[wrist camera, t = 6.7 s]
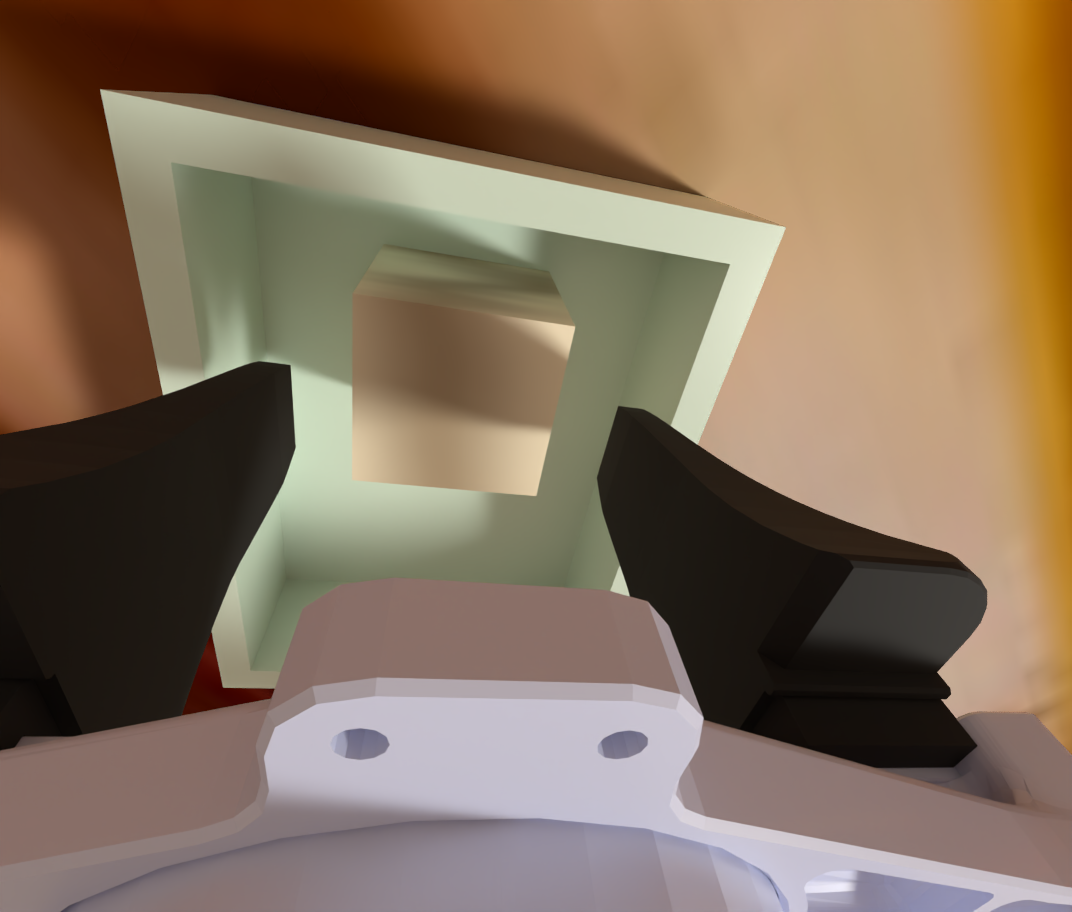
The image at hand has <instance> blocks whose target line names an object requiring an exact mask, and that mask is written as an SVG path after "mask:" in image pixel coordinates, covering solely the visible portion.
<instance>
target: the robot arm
mask: <svg viewBox="0 0 1072 912" xmlns="http://www.w3.org/2000/svg"><path fill="white" fill-rule="evenodd" d="M295 449H296V444H295V428H294V411H293V395H292V379H291V365H287V364H279V363H271V362H263V361H257V362H253V363H249V364H246V365H243V366H240V367H237V368H235V369H232V370H229V371H227V372H224V373H222V374H219V375H217V376H214V377H211V378H209V379H206V380H204V381H201V382H199V383H196V384H193V385H191V386H188V387H186V388H183V389H180V390H177V391H174V392H171V393H168V394H165V395H162V396H160V397H157V398H154V399H151V400H148V401H145V402H142V403H139V404H136V405H133V406H129V407H126V408H123V409H119V410H116V411H112V412H108V413H104V414H100V415H96V416H92V417H88V418H84V419H80V420H76V421H72V422H67V423H62V424H57V425H51V426H46V427H40V428H35V429H30V430H24V431H19V432H13V433H8V434H2V435H0V912H1072V755H1071V754H1070V753H1069V752H1068V751H1067V750H1066V748H1065V747H1064V746H1063V745H1062V744H1061V743H1060V742H1059V741H1058V740H1057V739H1056V738H1055V737H1054V736H1053V734H1052V733H1051V732H1050V731H1049V730H1048V729H1047V728H1046V727H1045V726H1044V725H1043V724H1042V723H1041V722H1040V720H1039V719H1038V718H1037V717H1036V716H1035V715H1034V714H1030V713H1026V712H972V713H968V714H965V715H963V716H960V717H958V718H957V719H956V718H955V717H954V715H953V714H952V713H951V711H950V710H949V709H948V708H947V706H946V705H945V704H944V703H943V701H942V700H941V699H947V698H948V697H949V696H950V695H951V690H950V687H949V686H948V685H947V684H946V683H945V681H944V680H943V679H942V678H941V677H940V675H939V674H938V673H937V672H938V671H939V670H940V668H941V667H942V666H943V665H944V664H945V663H946V662H947V661H948V660H949V659H950V658H951V657H952V655H953V654H954V653H955V652H956V651H957V650H958V649H959V648H960V647H961V646H962V645H963V644H964V642H965V641H966V640H967V639H968V638H969V637H970V636H971V635H972V633H973V632H974V631H975V629H976V628H977V627H978V625H979V624H980V623H981V620H982V618H983V615H984V613H985V610H986V607H987V590H986V588H985V586H984V585H983V583H982V581H981V580H980V579H979V578H978V577H977V576H976V575H975V574H974V573H973V572H972V571H971V570H970V569H968V568H967V567H966V566H965V565H964V564H963V563H962V562H961V561H960V560H959V559H958V558H956V557H955V556H953V555H951V554H949V553H947V552H944V551H940V550H937V549H933V548H930V547H926V546H922V545H919V544H915V543H912V542H908V541H905V540H901V539H897V538H894V537H890V536H887V535H884V534H881V533H878V532H875V531H872V530H869V529H866V528H863V527H860V526H857V525H854V524H851V523H848V522H846V521H843V520H840V519H838V518H835V517H833V516H830V515H827V514H825V513H822V512H820V511H818V510H815V509H813V508H811V507H808V506H806V505H804V504H801V503H799V502H797V501H794V500H792V499H790V498H788V497H786V496H784V495H782V494H780V493H778V492H776V491H774V490H772V489H770V488H768V487H766V486H764V485H762V484H760V483H758V482H757V481H755V480H753V479H751V478H749V477H747V476H746V475H744V474H742V473H740V472H739V471H737V470H736V469H734V468H732V467H731V466H729V465H728V464H726V463H724V462H723V461H721V460H720V459H718V458H716V457H715V456H713V455H712V454H710V453H709V452H707V451H706V450H704V449H703V448H702V447H700V446H699V445H697V444H696V443H694V442H693V441H691V440H690V439H689V438H687V437H686V436H684V435H683V434H682V433H680V432H679V431H677V430H676V429H674V428H673V427H672V426H670V425H669V424H667V423H666V422H664V421H663V420H661V419H660V418H658V417H657V416H655V415H654V414H652V413H650V412H648V411H646V410H644V409H639V408H631V407H623V406H618V408H617V411H616V415H615V418H614V421H613V425H612V428H611V432H610V435H609V438H608V442H607V445H606V448H605V452H604V455H603V458H602V462H601V465H600V468H599V472H598V475H597V483H598V489H599V496H600V502H601V507H602V512H603V516H604V519H605V522H606V525H607V528H608V531H609V534H610V537H611V540H612V543H613V546H614V549H615V552H616V555H617V558H618V561H619V564H620V567H621V570H622V573H623V576H624V579H625V582H626V585H627V588H628V592H629V595H630V596H626V595H623V594H619V593H615V592H612V591H608V590H599V589H582V588H565V587H548V586H531V585H514V584H497V583H480V582H462V581H445V580H428V579H411V578H387V579H379V580H371V581H364V582H356V583H348V584H341V585H339V586H338V587H336V588H334V589H333V590H331V591H330V592H328V593H326V594H325V595H323V596H322V597H320V598H318V599H317V600H315V601H314V602H312V603H310V604H309V605H307V606H306V607H304V608H303V609H302V612H301V615H300V618H299V621H298V623H297V626H296V629H295V632H294V635H293V637H292V640H291V643H290V646H289V649H288V652H287V655H286V658H285V661H284V664H283V666H282V669H281V672H280V675H279V678H278V681H277V684H276V687H275V690H274V693H273V696H272V699H267V700H262V701H257V702H252V703H246V704H241V705H236V706H231V707H225V708H220V709H215V710H210V711H204V712H199V713H194V714H189V715H184V716H181V715H182V712H183V709H184V706H185V703H186V700H187V697H188V694H189V691H190V688H191V686H192V683H193V680H194V677H195V674H196V671H197V668H198V665H199V663H200V660H201V657H202V655H203V652H204V649H205V647H206V644H207V641H208V639H209V636H210V633H211V630H212V628H213V625H214V622H215V620H216V617H217V615H218V612H219V610H220V607H221V605H222V602H223V600H224V598H225V595H226V593H227V590H228V588H229V585H230V583H231V580H232V578H233V576H234V574H235V572H236V570H237V568H238V566H239V564H240V562H241V560H242V558H243V557H244V555H245V553H246V551H247V549H248V548H249V546H250V544H251V542H252V540H253V539H254V537H255V535H256V533H257V531H258V529H259V528H260V526H261V524H262V522H263V520H264V519H265V517H266V515H267V513H268V511H269V510H270V508H271V506H272V504H273V502H274V500H275V498H276V497H277V495H278V493H279V491H280V489H281V487H282V485H283V483H284V480H285V478H286V475H287V472H288V469H289V467H290V464H291V461H292V458H293V455H294V452H295Z"/></svg>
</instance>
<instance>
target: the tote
mask: <svg viewBox="0 0 1072 912" xmlns="http://www.w3.org/2000/svg"><path fill="white" fill-rule="evenodd" d="M100 91H101V96H102V101H103V106H104V111H105V116H106V120H107V125H108V130H109V135H110V140H111V145H112V150H113V154H114V159H115V164H116V169H117V174H118V179H119V184H120V188H121V193H122V198H123V203H124V208H125V213H126V218H127V222H128V227H129V232H130V237H131V242H132V247H133V252H134V256H135V261H136V266H137V271H138V276H139V281H140V286H141V290H142V295H143V300H144V305H145V310H146V315H147V320H148V324H149V329H150V334H151V339H152V344H153V349H154V354H155V358H156V363H157V368H158V373H159V378H160V383H161V388H162V392H163V395H165V394H168V393H171V392H174V391H177V390H180V389H183V388H186V387H188V386H191V385H193V384H196V383H199V382H201V381H204V380H206V379H209V378H211V377H214V376H217V375H219V374H222V373H224V372H227V371H229V370H232V369H235V368H237V367H240V366H243V365H246V364H249V363H253V362H257V361H263V362H271V363H279V364H287V365H291V379H292V395H293V411H294V428H295V444H296V449H295V452H294V455H293V458H292V461H291V464H290V467H289V469H288V472H287V475H286V478H285V480H284V483H283V485H282V487H281V489H280V491H279V493H278V495H277V497H276V498H275V500H274V502H273V504H272V506H271V508H270V510H269V511H268V513H267V515H266V517H265V519H264V520H263V522H262V524H261V526H260V528H259V529H258V531H257V533H256V535H255V537H254V539H253V540H252V542H251V544H250V546H249V548H248V549H247V551H246V553H245V555H244V557H243V558H242V560H241V562H240V564H239V566H238V568H237V570H236V572H235V574H234V576H233V578H232V580H231V583H230V585H229V588H228V590H227V593H226V595H225V598H224V600H223V602H222V605H221V607H220V610H219V612H218V615H217V617H216V620H215V622H214V625H213V628H212V635H213V640H214V645H215V650H216V655H217V660H218V664H219V669H220V674H221V679H222V684H223V688H275V687H276V684H277V681H278V678H279V675H280V672H281V669H282V666H283V664H284V661H285V658H286V655H287V652H288V649H289V646H290V643H291V640H292V637H293V635H294V632H295V629H296V626H297V623H298V621H299V618H300V615H301V612H302V609H303V608H304V607H306V606H307V605H309V604H310V603H312V602H314V601H315V600H317V599H318V598H320V597H322V596H323V595H325V594H326V593H328V592H330V591H331V590H333V589H334V588H336V587H338V586H339V585H341V584H348V583H356V582H364V581H371V580H379V579H387V578H411V579H428V580H445V581H462V582H480V583H497V584H514V585H531V586H548V587H565V588H582V589H599V590H608V591H612V592H615V593H619V594H623V595H626V596H630V595H629V592H628V588H627V585H626V582H625V579H624V576H623V573H622V570H621V567H620V564H619V561H618V558H617V555H616V552H615V549H614V546H613V543H612V540H611V537H610V534H609V531H608V528H607V525H606V522H605V519H604V516H603V512H602V507H601V502H600V496H599V489H598V483H597V475H598V472H599V468H600V465H601V462H602V458H603V455H604V452H605V448H606V445H607V442H608V438H609V435H610V432H611V428H612V425H613V421H614V418H615V415H616V411H617V408H618V406H623V407H631V408H639V409H644V410H646V411H648V412H650V413H652V414H654V415H655V416H657V417H658V418H660V419H661V420H663V421H664V422H666V423H667V424H669V425H670V426H672V427H673V428H674V429H676V430H677V431H679V432H680V433H682V434H683V435H684V436H686V437H687V438H689V439H690V440H691V441H693V442H694V443H696V444H697V445H698V442H699V440H700V437H701V435H702V433H703V430H704V428H705V425H706V423H707V420H708V418H709V415H710V413H711V410H712V408H713V405H714V403H715V401H716V398H717V396H718V393H719V391H720V388H721V386H722V383H723V381H724V378H725V376H726V373H727V371H728V369H729V366H730V364H731V361H732V359H733V356H734V354H735V351H736V349H737V346H738V344H739V342H740V339H741V337H742V334H743V332H744V329H745V327H746V324H747V322H748V319H749V317H750V314H751V312H752V310H753V307H754V305H755V302H756V300H757V297H758V295H759V292H760V290H761V287H762V285H763V282H764V280H765V278H766V275H767V273H768V270H769V268H770V265H771V263H772V260H773V258H774V255H775V253H776V251H777V248H778V246H779V243H780V241H781V238H782V236H783V233H784V231H785V228H786V227H784V226H781V225H779V224H776V223H774V222H771V221H768V220H766V219H763V218H760V217H758V216H755V215H753V214H750V213H747V212H745V211H742V210H739V209H737V208H734V207H732V206H729V205H726V204H724V203H721V202H718V201H716V200H713V199H711V198H708V197H705V196H700V195H695V194H690V193H685V192H680V191H676V190H671V189H666V188H661V187H656V186H651V185H646V184H642V183H637V182H632V181H627V180H622V179H617V178H613V177H608V176H603V175H598V174H593V173H588V172H584V171H579V170H574V169H569V168H564V167H559V166H554V165H550V164H545V163H540V162H535V161H530V160H525V159H521V158H516V157H511V156H506V155H501V154H496V153H492V152H487V151H482V150H477V149H472V148H467V147H462V146H458V145H453V144H448V143H443V142H438V141H433V140H429V139H424V138H419V137H414V136H409V135H404V134H399V133H395V132H390V131H385V130H380V129H375V128H370V127H366V126H361V125H356V124H351V123H346V122H341V121H337V120H332V119H327V118H322V117H317V116H312V115H307V114H303V113H298V112H293V111H288V110H283V109H278V108H274V107H269V106H264V105H259V104H254V103H249V102H245V101H240V100H235V99H230V98H225V97H220V96H215V95H208V94H187V93H166V92H145V91H125V90H104V89H100ZM383 244H388V245H394V246H400V247H406V248H412V249H418V250H424V251H430V252H435V253H441V254H447V255H453V256H459V257H465V258H471V259H477V260H483V261H489V262H495V263H501V264H507V265H513V266H519V267H525V268H531V269H537V270H543V271H549V272H550V274H551V276H552V279H553V281H554V283H555V285H556V287H557V289H558V291H559V293H560V295H561V297H562V300H563V302H564V304H565V306H566V308H567V310H568V312H569V314H570V316H571V318H572V320H573V323H574V325H575V331H574V335H573V339H572V344H571V348H570V352H569V357H568V361H567V365H566V370H565V374H564V378H563V383H562V387H561V391H560V395H559V400H558V404H557V408H556V413H555V417H554V421H553V426H552V430H551V434H550V439H549V443H548V447H547V452H546V456H545V460H544V465H543V469H542V473H541V478H540V482H539V486H538V491H537V495H536V496H528V495H517V494H505V493H494V492H482V491H471V490H459V489H448V488H436V487H424V486H413V485H401V484H390V483H378V482H367V481H355V480H352V294H353V292H354V290H355V289H356V287H357V285H358V284H359V282H360V281H361V279H362V278H363V276H364V274H365V273H366V271H367V270H368V268H369V267H370V265H371V263H372V262H373V260H374V259H375V257H376V255H377V254H378V252H379V251H380V249H381V248H382V246H383Z"/></svg>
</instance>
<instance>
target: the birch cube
mask: <svg viewBox="0 0 1072 912" xmlns="http://www.w3.org/2000/svg"><path fill="white" fill-rule="evenodd" d="M574 331H575V325H574V323H573V320H572V318H571V316H570V314H569V312H568V310H567V308H566V306H565V304H564V302H563V300H562V297H561V295H560V293H559V291H558V289H557V287H556V285H555V283H554V281H553V279H552V276H551V274H550V272H549V271H543V270H537V269H531V268H525V267H519V266H513V265H507V264H501V263H495V262H489V261H483V260H477V259H471V258H465V257H459V256H453V255H447V254H441V253H435V252H430V251H424V250H418V249H412V248H406V247H400V246H394V245H388V244H383V246H382V248H381V249H380V251H379V252H378V254H377V255H376V257H375V259H374V260H373V262H372V263H371V265H370V267H369V268H368V270H367V271H366V273H365V274H364V276H363V278H362V279H361V281H360V282H359V284H358V285H357V287H356V289H355V290H354V292H353V294H352V480H355V481H367V482H378V483H390V484H401V485H413V486H424V487H436V488H448V489H459V490H471V491H482V492H494V493H505V494H517V495H528V496H536V495H537V491H538V486H539V482H540V478H541V473H542V469H543V465H544V460H545V456H546V452H547V447H548V443H549V439H550V434H551V430H552V426H553V421H554V417H555V413H556V408H557V404H558V400H559V395H560V391H561V387H562V383H563V378H564V374H565V370H566V365H567V361H568V357H569V352H570V348H571V344H572V339H573V335H574Z"/></svg>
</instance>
